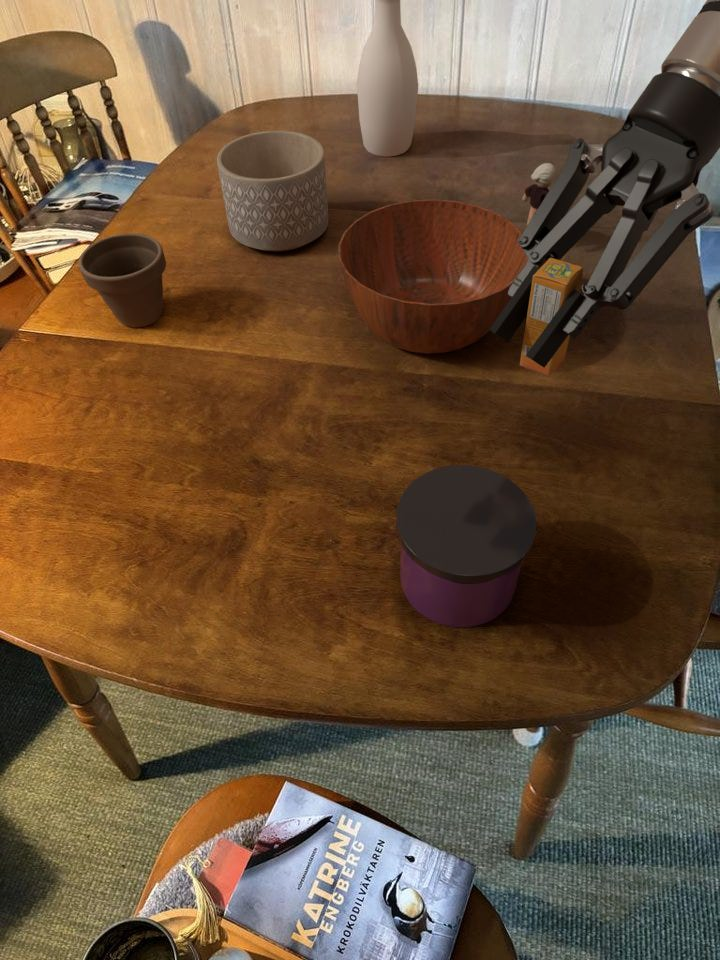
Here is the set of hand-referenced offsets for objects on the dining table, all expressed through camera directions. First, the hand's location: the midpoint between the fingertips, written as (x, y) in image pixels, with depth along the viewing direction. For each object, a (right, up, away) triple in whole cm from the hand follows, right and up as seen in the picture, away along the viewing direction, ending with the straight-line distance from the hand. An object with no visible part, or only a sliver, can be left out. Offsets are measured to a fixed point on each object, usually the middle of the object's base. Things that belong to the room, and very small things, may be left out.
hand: (516, 348), depth 63 cm
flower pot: (-46, +13, +43) cm, 64 cm away
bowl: (-4, +11, +40) cm, 42 cm away
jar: (-4, -22, +12) cm, 25 cm away
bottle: (-8, +52, +75) cm, 92 cm away
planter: (-27, +30, +57) cm, 70 cm away
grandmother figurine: (+14, +27, +53) cm, 61 cm away
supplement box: (+3, -1, +4) cm, 5 cm away
